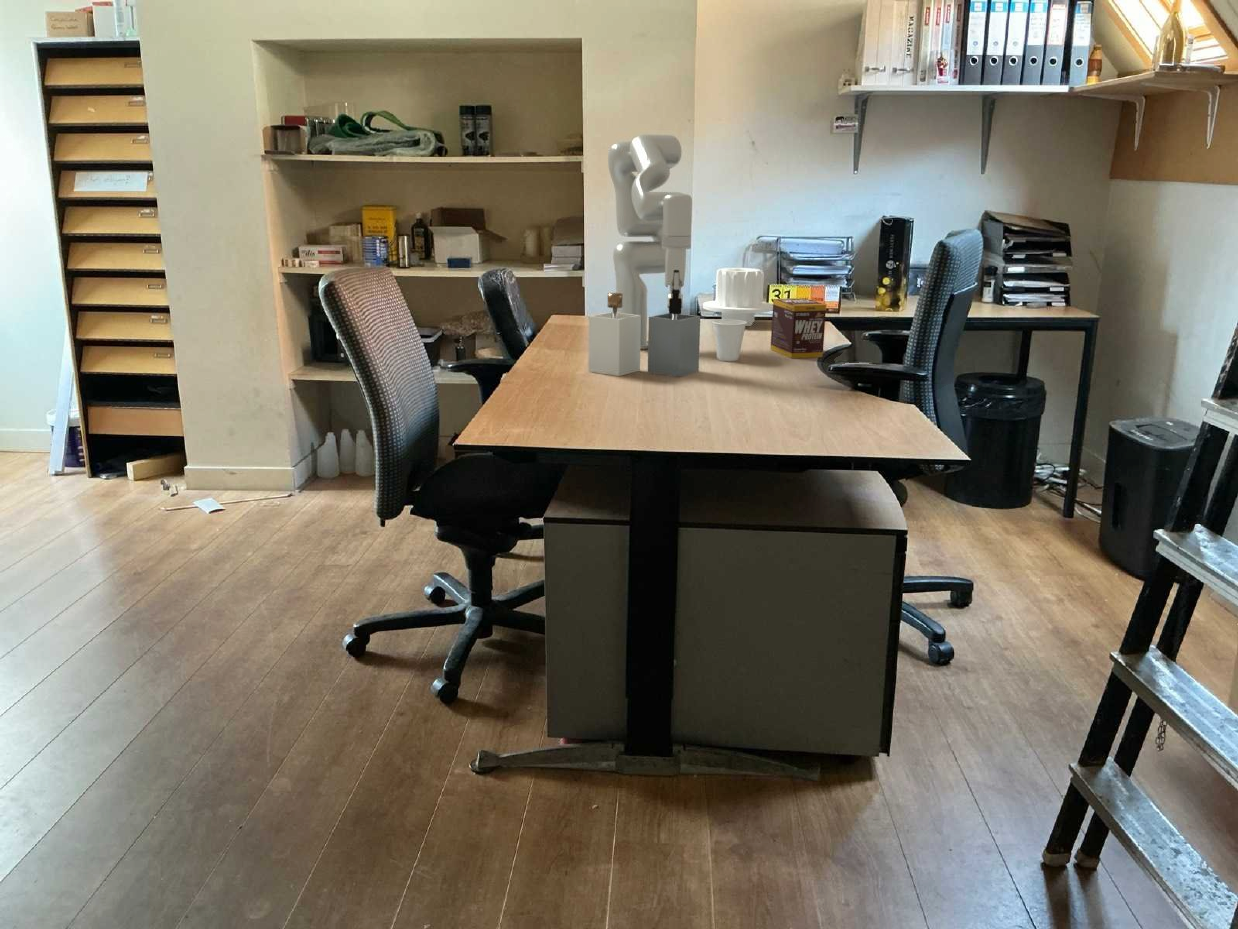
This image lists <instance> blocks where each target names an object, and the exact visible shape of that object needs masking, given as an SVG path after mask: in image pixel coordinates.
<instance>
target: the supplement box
mask: <svg viewBox="0 0 1238 929" xmlns="http://www.w3.org/2000/svg"><path fill="white" fill-rule="evenodd" d="M772 304H773V311H772V318H771V336H770V338H771V339H770V350H771V351H774V352H776V353H777V354H780V355H783V357H784V356H785V357H787V358H789V359H800V358H801V359H809V358H821V357H820V356H823V354H824V346H825V345H824V344H825V343H824V340H825V330H826V329H825V328H826V311H827V304H826V303H822V302H819V301H815V300H812V299H808V298H804V297H803V298H800V297H799V298H795V297H794V298H792V297H791V298H774V299H773V300H772ZM823 357H824V356H823Z"/></svg>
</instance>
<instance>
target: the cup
mask: <svg viewBox="0 0 1238 929" xmlns="http://www.w3.org/2000/svg"><path fill="white" fill-rule="evenodd" d="M711 323H712V327H713V335H714V341H715V342H714V344H715V350H716V357H717V359H718V361H721V362H737V361H738V360H739V358H740V355H741V354H740V353H741V349H742V344H743V339H744V335H745V334H744V333H745V330H746V327H745V326H746V324H747V322H746V321H742V320H734V319H722V318H721V319H714V320H712V321H711Z"/></svg>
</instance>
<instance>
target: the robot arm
mask: <svg viewBox="0 0 1238 929" xmlns="http://www.w3.org/2000/svg"><path fill="white" fill-rule="evenodd" d="M681 157H682V145H681V142H680V141H679V139H678V138H677V137H676V136H675V135H672V134H648V133H647V134H641V135H638V136H636V137H634V138H633V139H632V141H621V142H617V143H613V144H612V145H611V147H610V148H609V150H608V157H607V164H608V170H609V175H610V178H611V181H612V183H613V186H614V187H613V188H614V194H615V212H616V213H615V214H616V215H615V216H616V227H617V232H618V234H620V235H621V236H623V237H627V238H652V240H653V241H652V240H651V241H649V240H648V241H640V240H639V241H638V240H637V241H634V240H633V241H623V242H621V243H620V242H619V243H618V244H617V245H616V246H615V247H614V249H613V253H612V254H613V256H612V257H613V266H614V271H615V272H614V274H615V275H614V276H615V293H622V294H623V307H622V308H617V313H624V314H633V315H641V339H640V350H648V341H647V340H648V338H647V337H648V335H647V331H648V330H647V329H648V288H647V285H646V283H645V282H644V280H643V279H642V277H641V276H640V275H643V274H644V275H645V274H647V275H648V274H650V275H651V274H653V275H654V274H664V286H665V287H666V288H668V287H669V294H670V299H669V308H668V313H670V314H682V308H681V302H682V299H681V294H682V288H683V287H684V285H685V278H686V267H687V266H686V265H687V264H686V263H687V250H691V248H692V217H693V198H692V197H691V195H689V194H687V193H683V192H677V191H674V192H673V191H654V190H656V189H658V188H661V187H662V186H663V185H664V184H666V182H668V180H669V178H670V174H671V170H670V169H673V168H675V167H676V166H678V165H679V163H680V162H681V159H682V158H681ZM634 173H637V175H635V174H634ZM672 294H673V296H672Z"/></svg>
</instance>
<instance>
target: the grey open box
mask: <svg viewBox="0 0 1238 929" xmlns="http://www.w3.org/2000/svg"><path fill="white" fill-rule="evenodd" d="M672 315H673V314H670V313H669V312H666V313H662V314H656V315H652V316H648V330H647V331H648V335H647V337H648V338H647V340H648V348H647V373H648V374H649V373H650V374H656V375H663V376H668V377H669V376H670V377H675V378H676V377H677V378H680V377H684V376H687V375H691V374H694V373H697V372H699V370H700V364H699V363H700V342H701V341H700V340H701V339H700V338H701V334H700V333H701V315H693V314H691V315H690V314H683V313H681V314H677V320H675V319H672Z"/></svg>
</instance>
